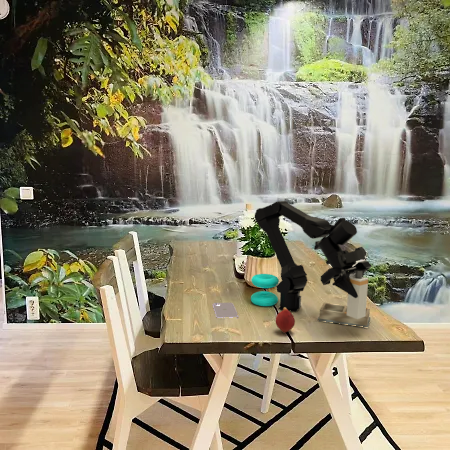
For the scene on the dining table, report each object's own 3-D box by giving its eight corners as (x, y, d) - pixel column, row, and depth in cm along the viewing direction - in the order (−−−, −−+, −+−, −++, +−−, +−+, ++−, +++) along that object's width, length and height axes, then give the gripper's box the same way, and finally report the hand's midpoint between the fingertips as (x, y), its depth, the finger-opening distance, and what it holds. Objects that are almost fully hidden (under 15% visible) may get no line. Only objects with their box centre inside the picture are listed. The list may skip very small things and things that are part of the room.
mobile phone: (216, 317, 150) (212, 302, 165) (216, 320, 151) (212, 304, 165) (239, 316, 151) (232, 301, 166) (239, 319, 152) (232, 304, 166)
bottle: (346, 315, 140) (349, 270, 138) (354, 312, 142) (357, 269, 140) (357, 319, 137) (360, 273, 134) (365, 316, 139) (368, 271, 137)
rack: (317, 321, 151) (318, 309, 150) (322, 312, 159) (323, 301, 158) (367, 328, 145) (368, 316, 144) (370, 319, 153) (371, 307, 152)
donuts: (246, 277, 164) (258, 271, 173) (245, 304, 166) (258, 296, 174) (271, 282, 159) (283, 275, 168) (270, 309, 161) (282, 301, 169)
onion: (292, 328, 143) (293, 304, 142) (295, 336, 138) (297, 311, 136) (273, 328, 143) (274, 304, 142) (276, 336, 138) (277, 310, 136)
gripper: (330, 242, 133) (359, 287, 126) (368, 235, 144) (397, 277, 138) (308, 262, 140) (335, 307, 134) (346, 255, 152) (372, 295, 145)
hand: (361, 296), depth 137 cm, fingers closed on bottle, 4 cm apart
